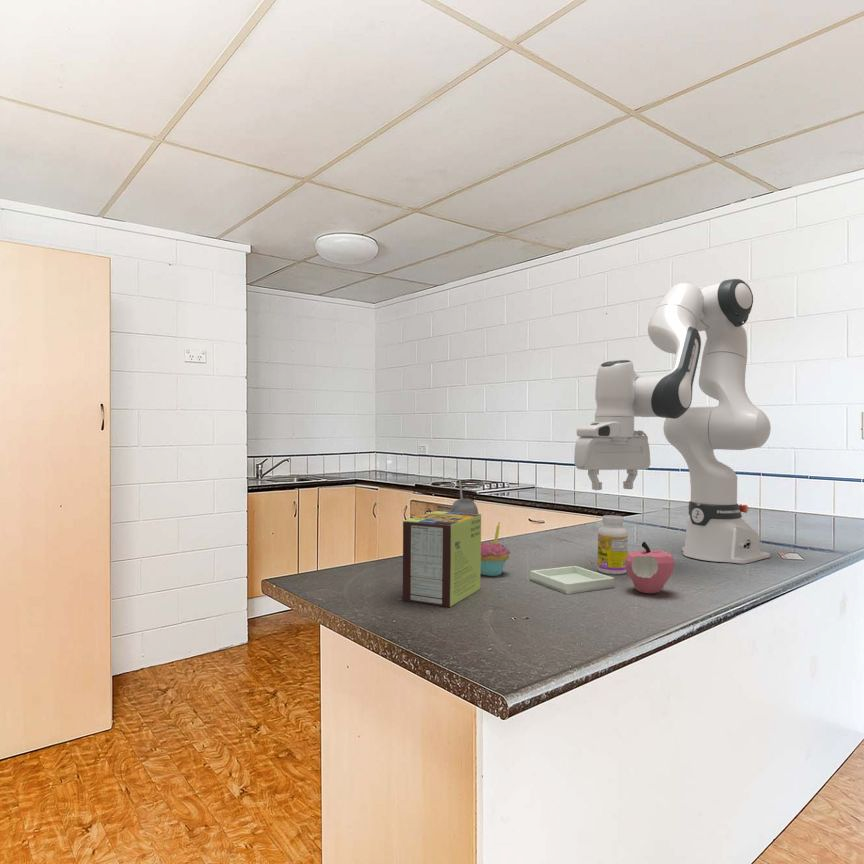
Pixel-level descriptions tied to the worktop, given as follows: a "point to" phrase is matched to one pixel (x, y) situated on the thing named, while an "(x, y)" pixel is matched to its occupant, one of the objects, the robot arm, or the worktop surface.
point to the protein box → (441, 557)
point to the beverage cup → (464, 504)
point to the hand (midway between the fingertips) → (612, 489)
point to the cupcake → (493, 556)
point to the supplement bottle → (612, 545)
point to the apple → (649, 569)
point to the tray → (572, 579)
